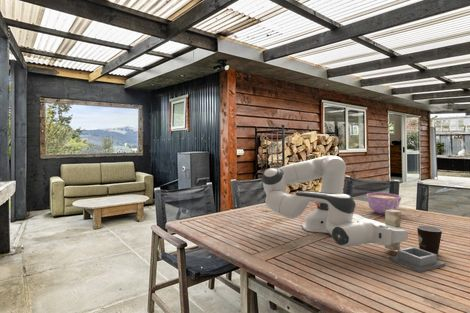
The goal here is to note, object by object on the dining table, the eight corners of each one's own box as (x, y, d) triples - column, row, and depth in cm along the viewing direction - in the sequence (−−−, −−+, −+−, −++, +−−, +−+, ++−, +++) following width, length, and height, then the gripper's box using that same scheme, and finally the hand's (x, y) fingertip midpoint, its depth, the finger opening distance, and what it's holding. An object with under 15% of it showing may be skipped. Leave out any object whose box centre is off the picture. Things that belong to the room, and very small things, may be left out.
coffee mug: (442, 257, 111) (443, 233, 111) (416, 253, 116) (417, 229, 116) (439, 248, 121) (440, 225, 121) (416, 244, 126) (416, 222, 125)
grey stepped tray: (419, 272, 99) (419, 261, 99) (389, 259, 110) (389, 249, 110) (445, 265, 104) (445, 255, 104) (413, 254, 115) (414, 244, 115)
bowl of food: (407, 216, 173) (408, 198, 172) (375, 217, 173) (375, 198, 173) (390, 209, 193) (390, 192, 192) (361, 209, 193) (361, 192, 193)
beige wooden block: (393, 250, 116) (393, 212, 115) (384, 247, 119) (385, 210, 119) (400, 249, 117) (400, 211, 116) (391, 246, 121) (392, 209, 120)
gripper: (350, 231, 123) (373, 227, 128) (391, 247, 104) (417, 241, 109) (350, 217, 122) (373, 213, 128) (392, 230, 103) (417, 225, 109)
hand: (394, 226), depth 118 cm, fingers closed on beige wooden block, 4 cm apart
